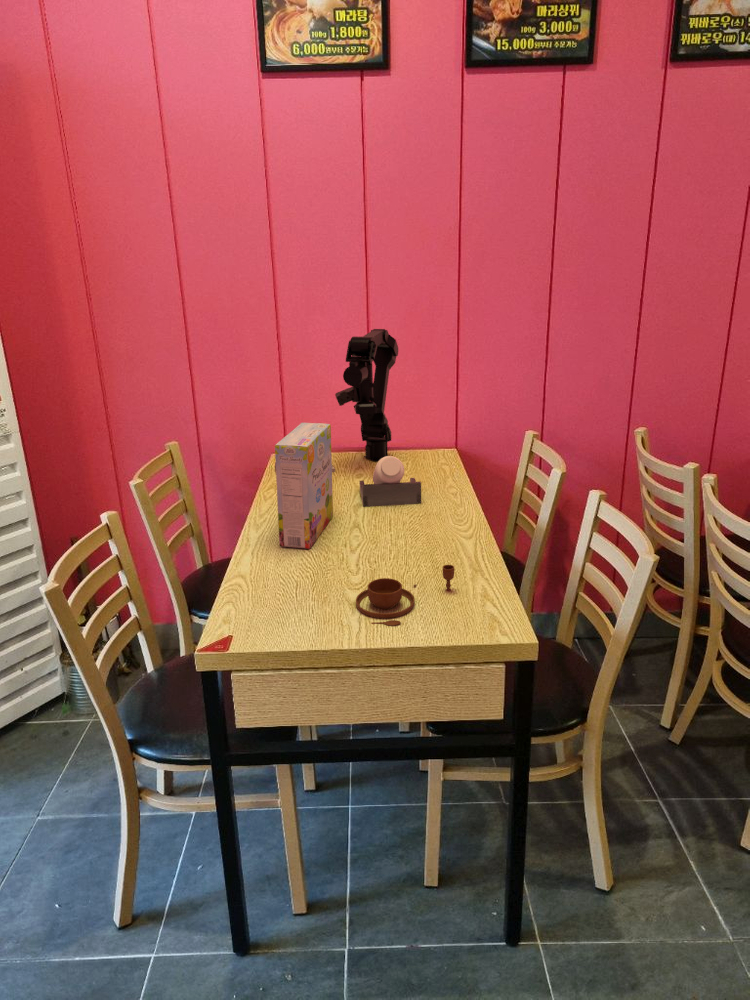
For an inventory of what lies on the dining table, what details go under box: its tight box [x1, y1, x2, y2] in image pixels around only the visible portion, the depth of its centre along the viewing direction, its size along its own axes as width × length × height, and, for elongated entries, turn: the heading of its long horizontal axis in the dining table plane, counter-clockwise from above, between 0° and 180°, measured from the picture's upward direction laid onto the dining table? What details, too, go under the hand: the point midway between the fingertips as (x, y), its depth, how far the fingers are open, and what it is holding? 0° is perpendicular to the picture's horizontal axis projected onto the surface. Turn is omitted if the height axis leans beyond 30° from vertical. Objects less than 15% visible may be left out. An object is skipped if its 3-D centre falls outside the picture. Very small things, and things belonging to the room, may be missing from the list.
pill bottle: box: [372, 455, 405, 484], centre depth 207 cm, size 8×8×15 cm
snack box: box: [274, 422, 334, 550], centre depth 183 cm, size 22×9×26 cm, turn 168°
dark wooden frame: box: [359, 477, 422, 508], centre depth 208 cm, size 13×16×6 cm
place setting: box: [355, 564, 455, 627], centre depth 150 cm, size 18×20×6 cm
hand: (364, 429), depth 228 cm, fingers closed
